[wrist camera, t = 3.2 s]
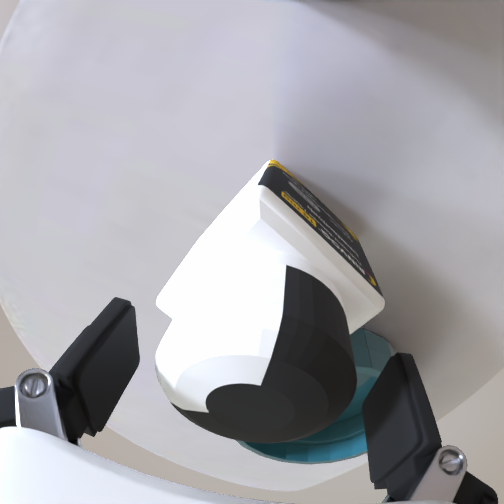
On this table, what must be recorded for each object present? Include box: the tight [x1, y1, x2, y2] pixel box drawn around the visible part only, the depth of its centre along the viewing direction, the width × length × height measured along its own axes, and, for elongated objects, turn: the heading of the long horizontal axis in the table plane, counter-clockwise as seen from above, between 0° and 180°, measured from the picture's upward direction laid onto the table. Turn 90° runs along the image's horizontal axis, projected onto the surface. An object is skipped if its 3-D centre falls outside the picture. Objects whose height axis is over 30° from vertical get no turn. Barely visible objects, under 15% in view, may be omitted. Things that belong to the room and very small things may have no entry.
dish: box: [236, 328, 397, 464], centre depth 21 cm, size 14×14×4 cm
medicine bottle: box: [155, 160, 385, 443], centre depth 13 cm, size 7×7×12 cm
